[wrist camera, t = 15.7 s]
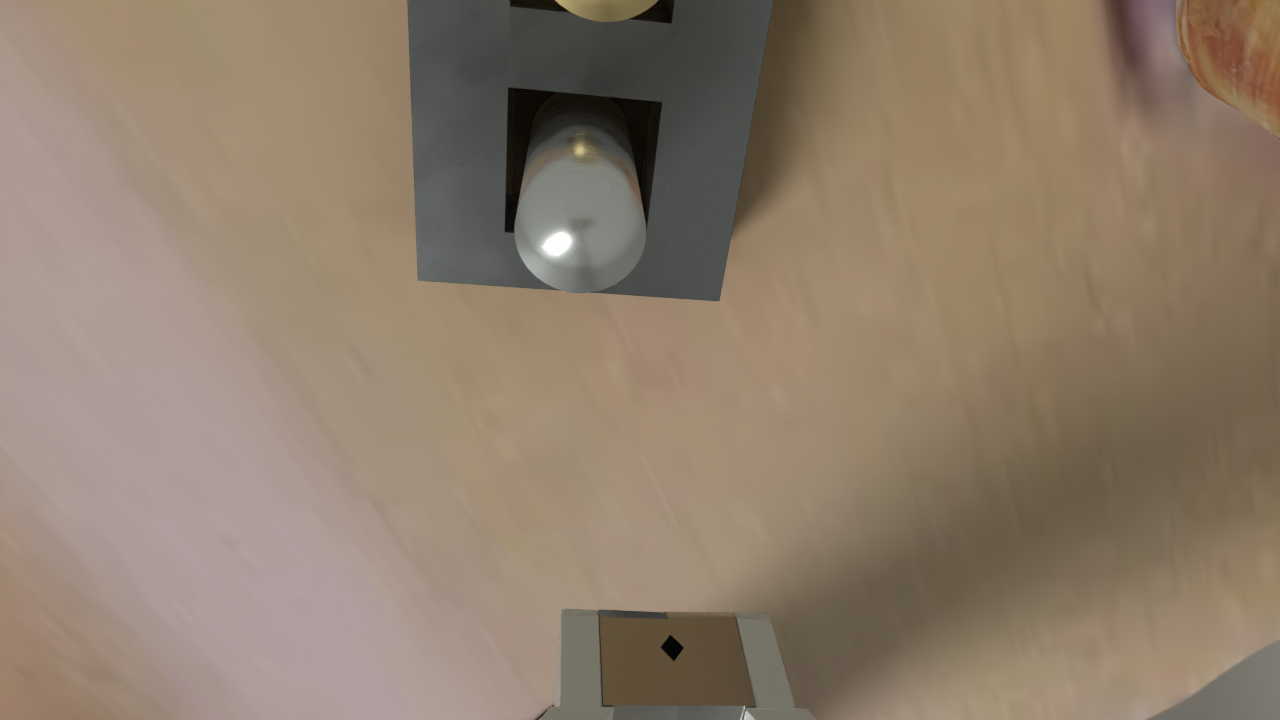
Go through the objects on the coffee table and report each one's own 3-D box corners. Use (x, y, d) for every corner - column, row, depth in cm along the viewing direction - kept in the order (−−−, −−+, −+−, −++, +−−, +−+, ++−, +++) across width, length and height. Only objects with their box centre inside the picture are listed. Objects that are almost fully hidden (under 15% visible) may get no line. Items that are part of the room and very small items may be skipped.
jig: (706, 259, 36) (744, 382, 28) (433, 239, 35) (386, 361, 27) (788, -233, 27) (883, -273, 19) (420, -286, 26) (342, -355, 17)
